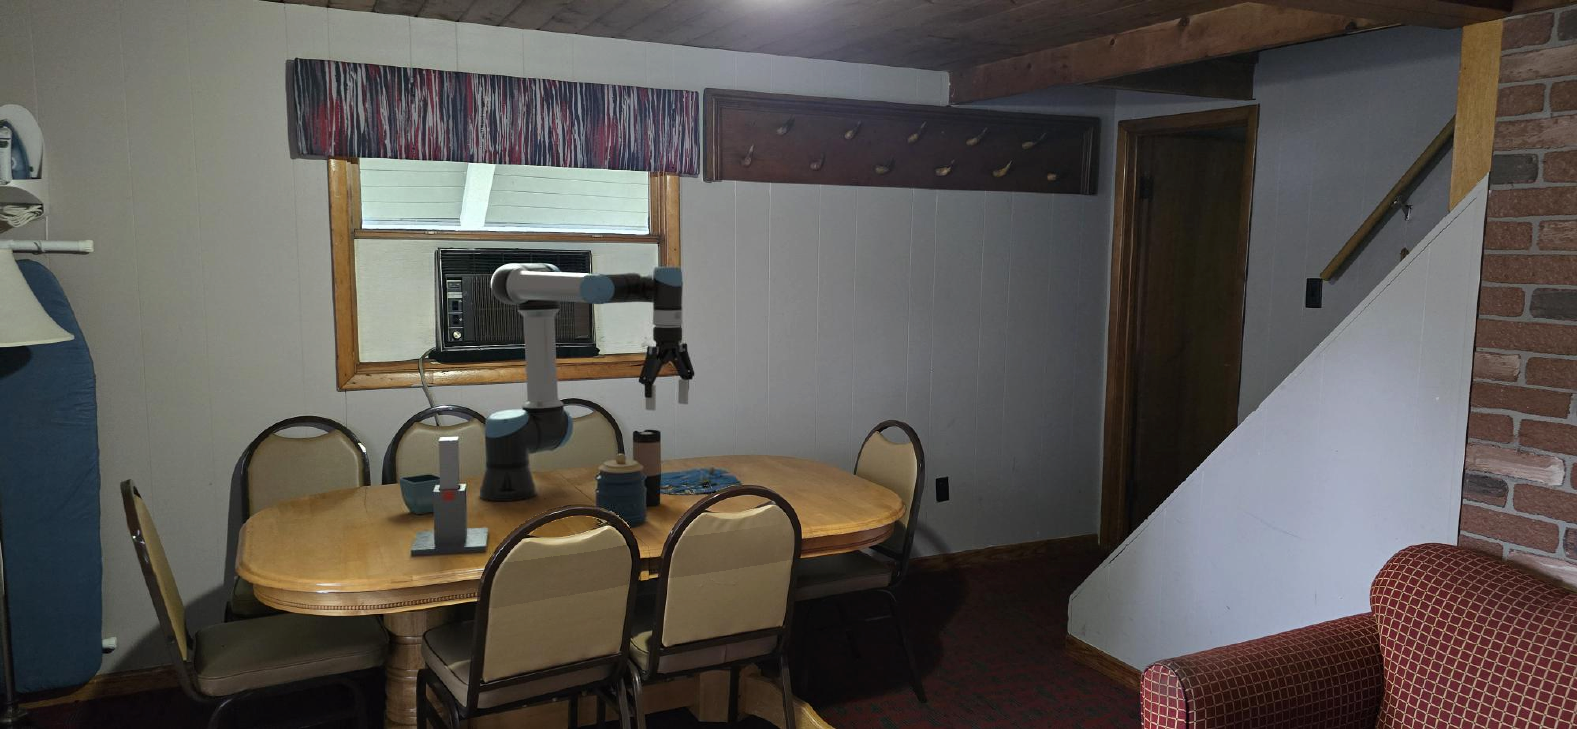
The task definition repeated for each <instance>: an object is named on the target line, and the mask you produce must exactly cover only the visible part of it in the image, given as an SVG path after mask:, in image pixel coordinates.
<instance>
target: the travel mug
mask: <svg viewBox="0 0 1577 729" xmlns="http://www.w3.org/2000/svg"><path fill="white" fill-rule="evenodd" d="M661 437H662V436H661V430H659V429H645V430H644V431H638V430H633V431H632V460H634V461H637V462H638V463H639V464H641V465H642V466H643V469H642V472H643V473H645V474H646V475H647V478H646V479H645V487H646V488H647V490H646V508H653V507H658V506H660V505H661V490H662V488H661V473H662V448H661V447H662V443H661V442H662V441H661ZM659 504H660V505H659Z"/></svg>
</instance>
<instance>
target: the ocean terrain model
mask: <svg viewBox="0 0 1577 729" xmlns="http://www.w3.org/2000/svg"><path fill="white" fill-rule="evenodd" d="M729 474H730V472H729V471H727V470H725V469H724V470H723V469H721V468H720V469H715V467H714V466H713V465H712V466H709V467H708V468H695V469H690V470H680V471H670V472H661V492H660V494H661V493H663V494H668V495H672V494H671V493H674V494H676V493H680V494H681V493H684V494H683V495H687V494H686V492H685V490H690V492H691V493H694V492H693V490H692V489H696V490H695V495H698V494H697V493H699V494H701V493H702V494H704V493H714V491H716V490H719V489H722V488H725V487H728V486H731V485H740V484H741V481H740V480H739V478H737V476H734V474H733V475H731V474H730V475H729ZM666 485H669V486H668V487H663V486H666ZM681 485H686V487H685V486H682V487H680V486H681ZM703 485H705V486H706V485H707V486H706V487H705V488H703V487H704V486H703ZM711 485H716V486H715V487H714V486H712V488H711V487H710V486H711ZM671 486H675V487H677V488H675V487H673V489H672V490H671V491H670V490H669V491H668V490H665V491H663V490H664V489H667V488H668V489H670V488H672V487H671ZM691 486H694V487H691ZM699 486H702V487H699ZM669 487H670V488H669ZM687 487H690V488H687ZM708 487H709V488H708ZM698 489H699V490H698ZM701 489H705V491H704V490H701ZM706 489H707V490H706ZM716 492H717V491H716ZM669 493H670V494H669ZM688 493H689V492H688ZM681 495H682V494H681Z"/></svg>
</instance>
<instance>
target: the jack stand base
mask: <svg viewBox="0 0 1577 729" xmlns="http://www.w3.org/2000/svg"><path fill="white" fill-rule="evenodd" d="M459 484H460V490H441V491H440V485H436V486H435V488H434V491H433V504H434V512H433V530H418V531H417V533H416V536H415V539H414V542H413V544H412V546H411V549H410V554H411V555H410V557H413V558H414V557H428V556H429V557H430V556H446V555H463V554H480V553H487V547H488V546H487V545H488V538H489V527H469V528H468V511H467V510H468V507H467V506H468V505H467V483H459Z"/></svg>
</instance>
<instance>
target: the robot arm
mask: <svg viewBox="0 0 1577 729" xmlns="http://www.w3.org/2000/svg"><path fill="white" fill-rule="evenodd" d="M682 273H683V272H682V269H681V268H680V267H678V266H655V267H653V272H652V273H637V272H627V273H583V272H582V273H581V272H563V271H561V270H560V268H559V267H557V266H556V265H553V264H550V263H542V262H537V263H536V262H535V263H533V262H532V263H508V264H507V263H506V264H504V265H502V266H500V267H498V268H497V269H496V270H495V272H494V273H493V274H492V276H491V280H490V288H491V292H492V294H493V295H494V297H495V298H496V299H497V300H498V301H499V302H501V303H503V304H506V305H508V306H509V305H511V306H517V312H518V313H519V314H520V315H521V316H522V317H523V332H524V333H523V334H524V350H525V353H524V354H525V355H524V356H525V374H526V377H525V378H526V397H527V398H526V399H527V400H526V401H525V402H524V404H523V405H522V407H521V408H522V409H519V408H518V409H508V410H499V411H497V412H493V413H491V414H489V415H488V417H486V419H485V423H484V432H483V433H484V443H485V448H484V449H485V470H484V474H483V478H482V484H481V485H480V487H479V497H480V498H481V499H483V500H486V501H493V502H496V501H497V502H509V501H510V502H512V500H513V501H519V500H520V501H521V500H525V499H530V498H532V497H534V496H535V495H536V493H537V492H536V491H537V489H536V484H535V482H534V480H533V479H534V478H533V475H532V472H531V470H530V469H531V468H530V463H529V462H530V461H529V460H530V459H529V458H530V455H531V454H537V453H541V452H548V451H550V452H551V451H554V450H556V449H560V448H562V447H564V446H565V445H566V444H567V443H568V442H569V441H570V439H571V437H572V435H573V431H574V430H573V429H574V423H573V422H574V420H573V419H572V416H570V413H569V412H568V410H566V409H565V408H564V402H563V401H561V400H560V399H559V396H558V395H559V394H558V372H557V370H558V369H557V352H556V351H557V350H556V326H555V323H556V322H555V315H556V314H558V312H559V311H560V303H561V302H572V303H573V302H575V303H588V304H591V305H592V304H594V305H604V304H619V303H621V304H622V303H623V304H625V303H652V325H653V326H654V327H653V328H652V339H653V341H654V342H655V346H654V345H653V346H652V345H648V346H647V347H646V355H645V359H644V362H643V364H642V367H641V372H640V374H639V378H638V383H639V384H641V385H643V386H644V397H645V411H656V410H657V409H656V407H657V406H656V402H657V401H656V398H657V397H656V396H657V395H656V393H657V392H656V390H657V388H656V387H657V385H656V384H654V383H655V381H656V379H657V378H658V375H659V374H660V371H661V369H662V368H663V366H664V365H665V364H666V363H670V362H671V363H672V365H673V367H674V368H675V370H676V372H677V373H678V375H679V377H680V379H678V394H677V395H678V404H681V405H689V390H690V381H691V380H693V378H694V376H695V370H694V367H693V364H692V362H691V361H692V360H691V358H690V354H689V352H688V344H687V343H686V342H682V340H683V328H682V327H681V326H682V324H683V314H682V313H683V306H682V305H683V287H684V286H683V285H684V283H683V274H682Z"/></svg>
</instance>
